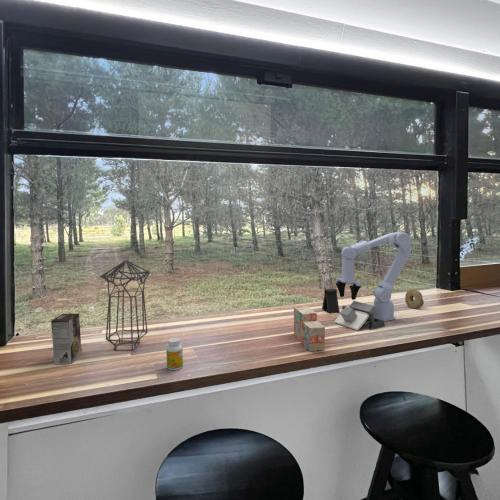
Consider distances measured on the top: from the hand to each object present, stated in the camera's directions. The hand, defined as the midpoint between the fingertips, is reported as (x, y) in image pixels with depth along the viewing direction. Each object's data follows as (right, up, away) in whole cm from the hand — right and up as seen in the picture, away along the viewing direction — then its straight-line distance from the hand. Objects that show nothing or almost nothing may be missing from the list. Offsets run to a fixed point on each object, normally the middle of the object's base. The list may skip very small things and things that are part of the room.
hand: (347, 298), depth 171 cm
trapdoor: (+2, -9, -8) cm, 13 cm away
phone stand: (-5, -9, +15) cm, 19 cm away
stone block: (-2, -8, -11) cm, 14 cm away
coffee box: (-116, -17, -45) cm, 125 cm away
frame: (+5, -11, -6) cm, 14 cm away
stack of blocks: (-25, -14, -30) cm, 41 cm away
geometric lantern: (-97, -15, -33) cm, 104 cm away
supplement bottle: (-75, -17, -53) cm, 93 cm away
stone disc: (+42, -8, +19) cm, 47 cm away
